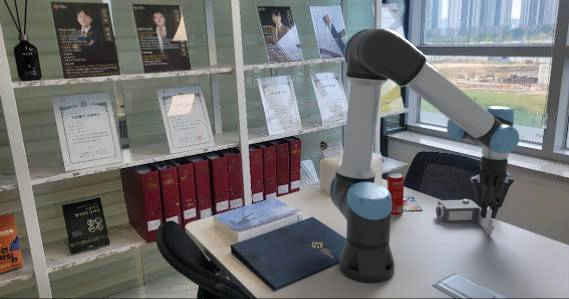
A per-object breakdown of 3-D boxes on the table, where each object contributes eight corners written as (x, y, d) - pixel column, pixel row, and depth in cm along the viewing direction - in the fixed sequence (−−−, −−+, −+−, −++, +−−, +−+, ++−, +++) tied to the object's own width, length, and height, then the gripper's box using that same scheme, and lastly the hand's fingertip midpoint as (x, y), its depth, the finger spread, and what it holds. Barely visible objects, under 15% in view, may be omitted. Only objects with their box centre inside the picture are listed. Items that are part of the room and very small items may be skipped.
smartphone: (402, 210, 158) (393, 196, 173) (402, 212, 158) (393, 197, 173) (423, 210, 158) (412, 195, 173) (423, 212, 158) (412, 197, 173)
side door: (493, 235, 137) (494, 221, 136) (488, 235, 138) (490, 221, 136) (481, 221, 148) (483, 208, 146) (477, 221, 148) (478, 208, 147)
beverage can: (405, 212, 158) (407, 173, 154) (399, 218, 152) (401, 178, 148) (389, 208, 161) (391, 170, 157) (383, 214, 155) (385, 175, 151)
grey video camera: (441, 223, 147) (443, 206, 146) (432, 214, 155) (434, 198, 153) (479, 222, 148) (481, 205, 146) (469, 213, 155) (471, 197, 154)
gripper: (478, 159, 129) (469, 231, 135) (521, 160, 129) (511, 232, 135) (469, 153, 137) (461, 221, 143) (509, 153, 136) (500, 222, 142)
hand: (485, 226), depth 139 cm, fingers closed
